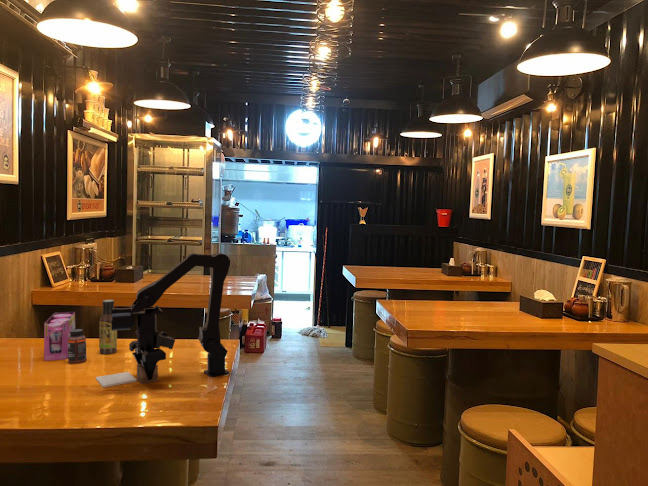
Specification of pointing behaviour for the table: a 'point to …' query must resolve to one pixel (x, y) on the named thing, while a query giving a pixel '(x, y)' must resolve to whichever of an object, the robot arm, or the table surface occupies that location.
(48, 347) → the gum box
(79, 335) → the supplement bottle
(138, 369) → the walnut cube
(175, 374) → the table surface
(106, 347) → the sauce bottle
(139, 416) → the table surface
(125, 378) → the stone coaster
